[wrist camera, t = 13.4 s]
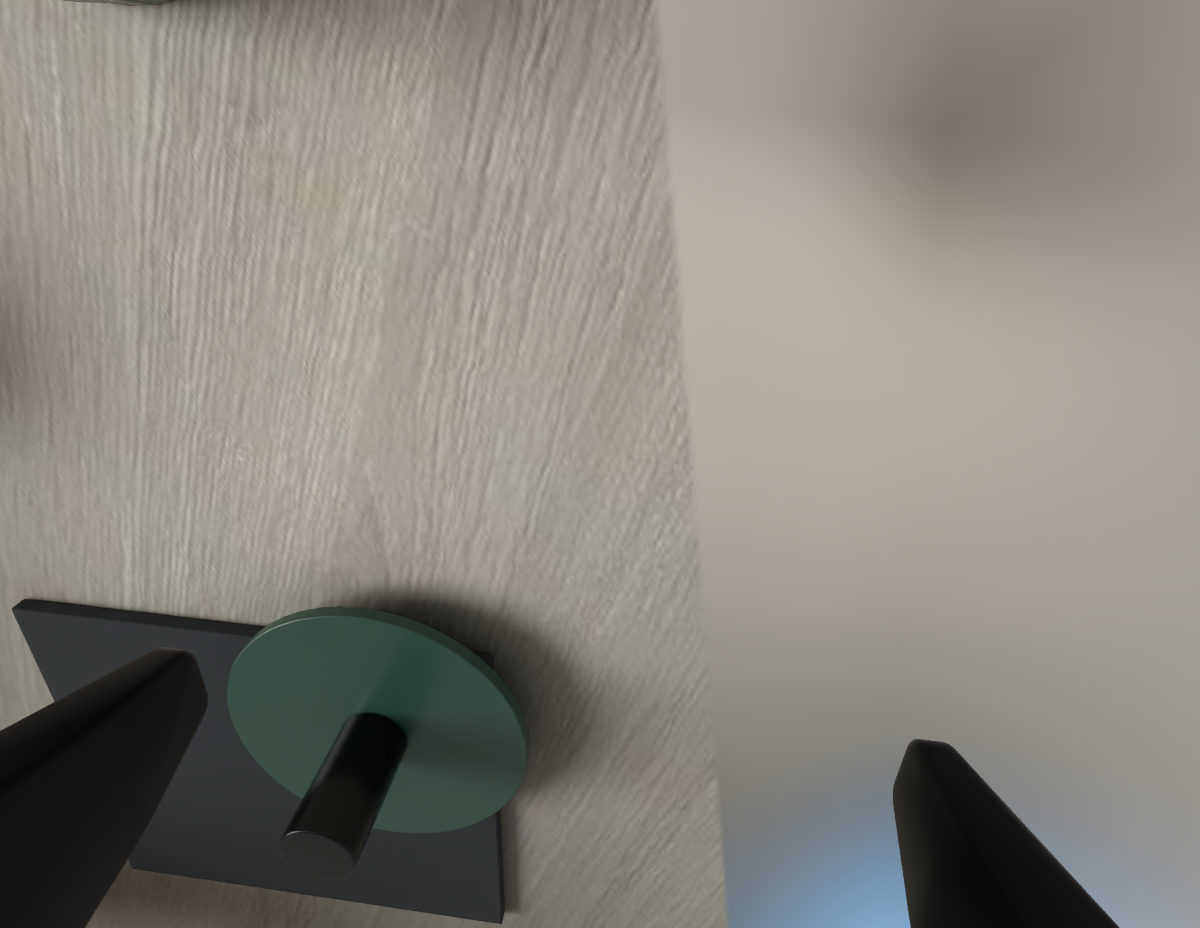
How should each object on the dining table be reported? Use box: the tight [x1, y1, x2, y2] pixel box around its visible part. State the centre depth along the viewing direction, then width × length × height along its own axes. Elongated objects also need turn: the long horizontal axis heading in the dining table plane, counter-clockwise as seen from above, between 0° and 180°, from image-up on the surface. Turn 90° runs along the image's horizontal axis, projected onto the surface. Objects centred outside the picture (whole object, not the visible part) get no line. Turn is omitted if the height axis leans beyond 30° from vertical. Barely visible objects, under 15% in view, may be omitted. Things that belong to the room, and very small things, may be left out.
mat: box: [12, 599, 504, 924], centre depth 29 cm, size 18×16×1 cm
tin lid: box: [227, 607, 529, 880], centre depth 24 cm, size 11×11×6 cm
